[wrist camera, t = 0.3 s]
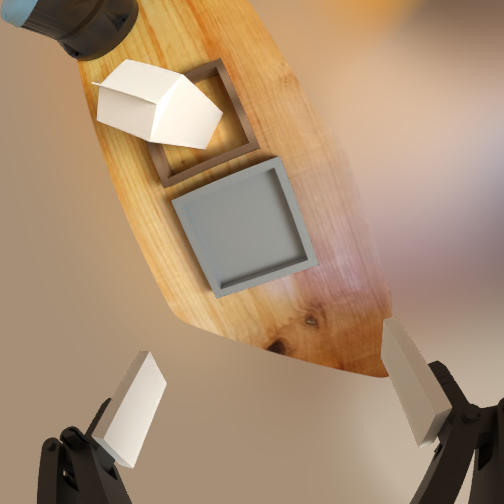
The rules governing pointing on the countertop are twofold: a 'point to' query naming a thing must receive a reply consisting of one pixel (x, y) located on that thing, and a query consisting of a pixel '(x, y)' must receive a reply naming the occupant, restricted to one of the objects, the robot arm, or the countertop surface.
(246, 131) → the frame
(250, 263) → the tray
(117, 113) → the milk
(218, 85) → the countertop surface
